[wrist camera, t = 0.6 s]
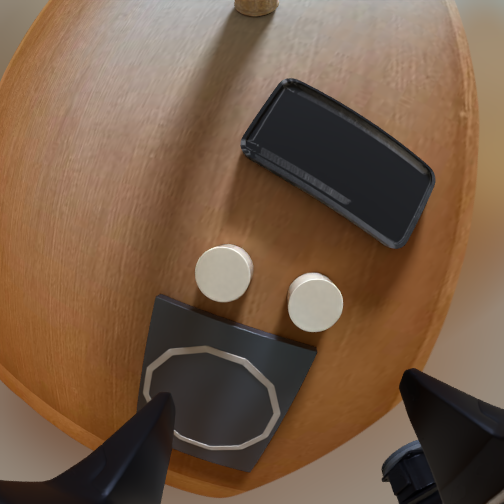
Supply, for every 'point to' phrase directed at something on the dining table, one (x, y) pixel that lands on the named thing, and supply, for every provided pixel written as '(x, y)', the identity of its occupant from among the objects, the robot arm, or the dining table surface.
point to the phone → (340, 161)
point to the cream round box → (224, 273)
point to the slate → (220, 381)
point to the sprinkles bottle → (256, 6)
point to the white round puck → (314, 302)
